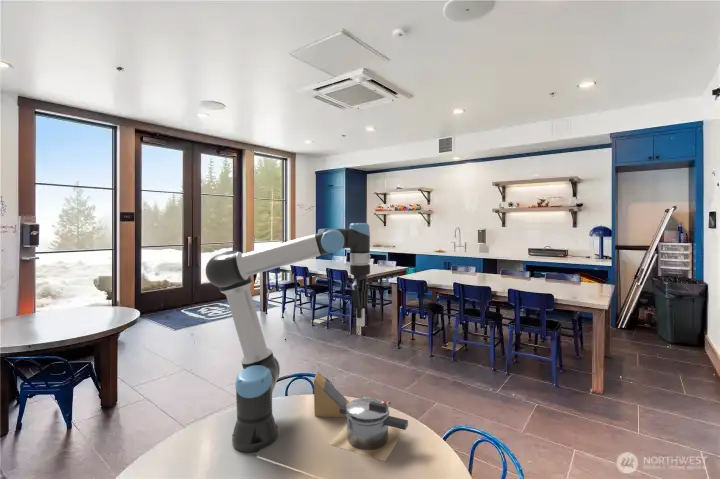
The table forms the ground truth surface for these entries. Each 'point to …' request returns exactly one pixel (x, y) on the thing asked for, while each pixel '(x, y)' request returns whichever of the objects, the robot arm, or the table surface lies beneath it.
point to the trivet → (376, 453)
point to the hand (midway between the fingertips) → (360, 325)
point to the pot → (370, 430)
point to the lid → (368, 408)
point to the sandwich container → (327, 398)
